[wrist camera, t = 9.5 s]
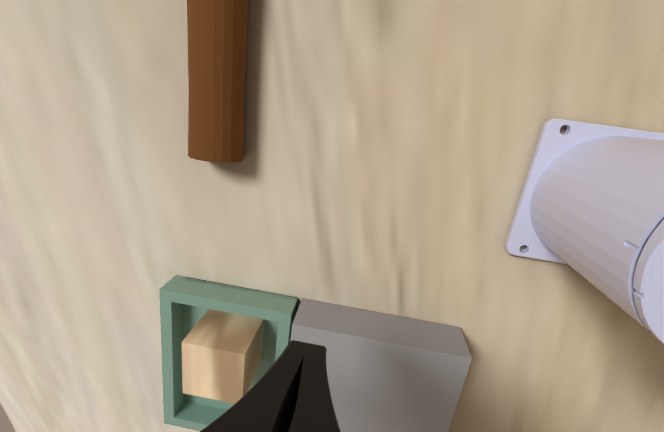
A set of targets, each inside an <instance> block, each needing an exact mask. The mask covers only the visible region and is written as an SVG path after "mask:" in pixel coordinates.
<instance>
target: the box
mask: <svg viewBox="0 0 664 432" xmlns="http://www.w3.org/2000/svg"><path fill="white" fill-rule="evenodd" d="M297 301H298V298H297V297H292V296H286V295H281V294H275V293H270V292H265V291H259V290H254V289H248V288H243V287H237V286H232V285H227V284H221V283H216V282H210V281H205V280H200V279H194V278H189V277H183V276H178V275H176V276H175V277H173V278H172V279H171V280H170V281H169V282H168V283H166V284H165V285H164V286H163V287H162V288H160V315H161V344H162V373H163V402H164V423H165V424H170V425H175V426H179V427H184V428H188V429H193V430H198V431H201V430H203V429H204V428H206V427H207V426H208V425H210V424H211V423H212V422H213V421H215V420H216V419H217V418H219V417H220V416H221V415H222V414H224V413H225V412H226V411H227V410H228V409H229V408H231V407H232V406H233V405H234V403H229V402H224V401H219V400H214V399H209V398H204V397H199V396H194V395H189V394H185V393H183V387H182V341H183V340H184V339H185V338H186V336H187V335H188V334H189V333H190V331H191V330H192V329H193V328H194V327H195V325H196V324H197V323H198V322H199V320H200V319H201V318H202V317H203V316H204V314H205V313H206V312H207V311H208V309H212V310H217V311H223V312H228V313H233V314H238V315H244V316H249V317H254V318H259V319H265V323H264V337H263V351H262V362H261V364H260V366H259V369H258V371H257V373H256V375H255V378H254V380H253V382H252V384H251V387H250V389H251V388H252V387H253V386H254V385H255V384H256V383H257V382H258V381H259V380H260V379H261V378H262V377H263V375H264V374H265V373H266V372H267V371H268V370H269V368H270V367H271V366H272V365H273V364H274V363H275V361H276V360H277V359H278V358H279V356H280V355H281V354H282V352H283V351H284V350H285V348H286V347H287V345H288V343H289V342H290V340H291V331H292V324H293V321H294V318H295V316H296V310H297ZM250 389H249V390H250Z"/></svg>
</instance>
